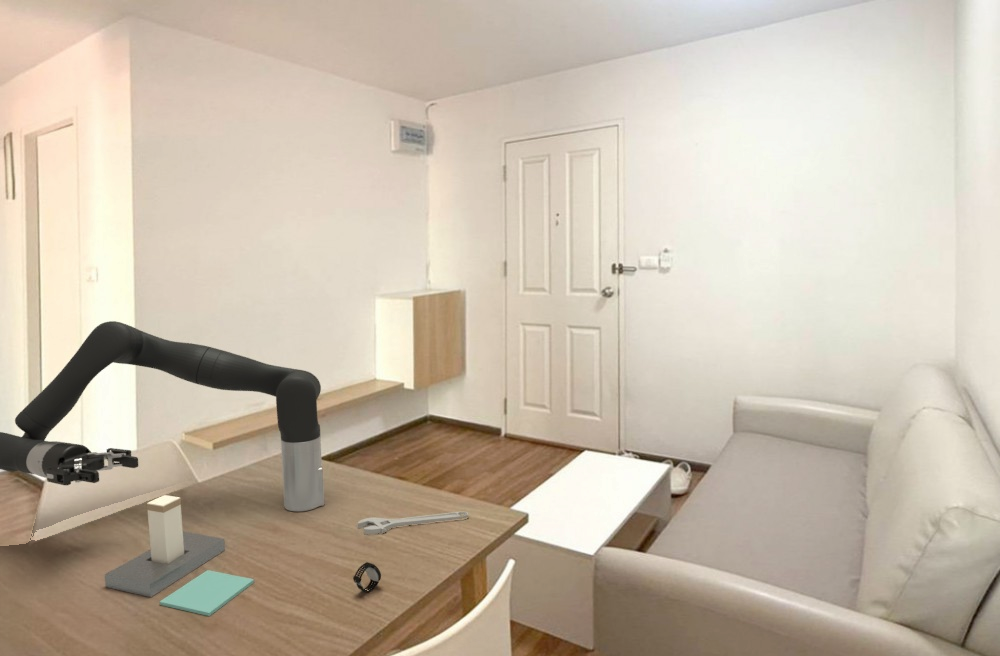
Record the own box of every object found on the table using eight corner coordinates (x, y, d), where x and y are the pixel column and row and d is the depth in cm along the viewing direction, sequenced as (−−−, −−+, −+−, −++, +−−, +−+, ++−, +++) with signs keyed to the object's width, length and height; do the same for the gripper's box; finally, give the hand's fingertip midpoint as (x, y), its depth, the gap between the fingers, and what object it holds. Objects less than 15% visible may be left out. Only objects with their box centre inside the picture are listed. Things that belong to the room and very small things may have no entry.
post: (169, 560, 119) (164, 494, 117) (185, 563, 118) (180, 497, 116) (152, 571, 115) (146, 503, 113) (168, 574, 114) (163, 505, 112)
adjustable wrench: (467, 516, 140) (467, 509, 140) (470, 529, 134) (470, 521, 133) (359, 524, 135) (359, 517, 135) (358, 537, 129) (358, 530, 129)
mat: (207, 572, 114) (207, 570, 114) (254, 582, 111) (254, 579, 111) (159, 604, 104) (159, 601, 104) (209, 616, 101) (209, 612, 101)
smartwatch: (383, 591, 108) (382, 565, 108) (356, 599, 105) (355, 573, 105) (375, 580, 112) (374, 555, 111) (349, 588, 109) (348, 563, 108)
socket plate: (183, 542, 127) (183, 531, 126) (225, 549, 123) (224, 538, 123) (105, 587, 110) (104, 574, 109) (151, 597, 106) (149, 584, 106)
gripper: (21, 453, 115) (81, 463, 110) (90, 433, 129) (147, 441, 124) (24, 490, 116) (84, 501, 111) (93, 466, 130) (150, 475, 125)
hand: (117, 469), depth 117 cm, fingers open, 8 cm apart
